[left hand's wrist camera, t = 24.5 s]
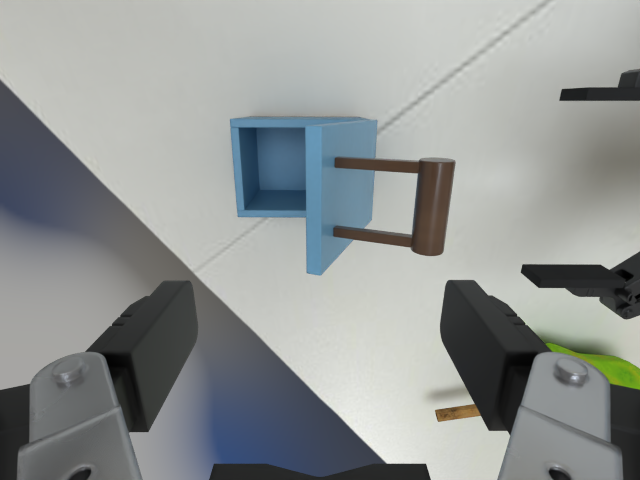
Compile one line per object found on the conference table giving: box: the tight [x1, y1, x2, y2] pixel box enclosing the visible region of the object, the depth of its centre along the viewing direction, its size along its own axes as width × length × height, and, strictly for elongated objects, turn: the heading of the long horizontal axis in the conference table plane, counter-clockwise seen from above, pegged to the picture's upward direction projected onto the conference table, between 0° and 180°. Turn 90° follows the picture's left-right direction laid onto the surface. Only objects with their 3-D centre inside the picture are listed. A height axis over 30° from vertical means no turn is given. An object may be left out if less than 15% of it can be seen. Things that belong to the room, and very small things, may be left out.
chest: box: [230, 117, 370, 217], centre depth 40 cm, size 14×10×11 cm
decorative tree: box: [435, 343, 640, 422], centre depth 53 cm, size 18×10×30 cm
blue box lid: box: [305, 120, 455, 275], centre depth 27 cm, size 14×10×9 cm
